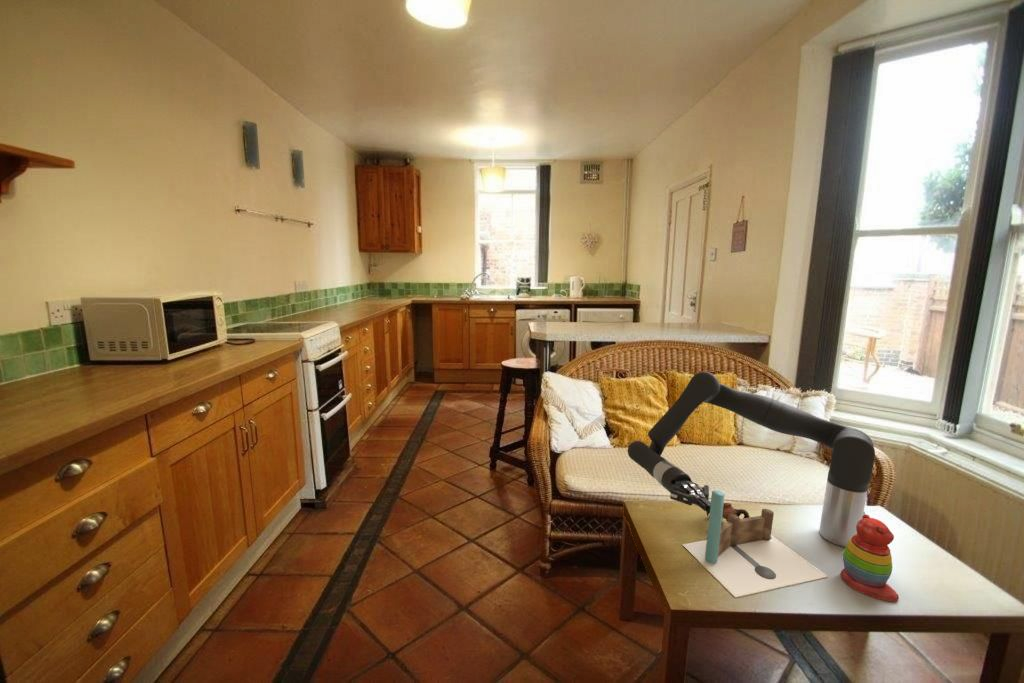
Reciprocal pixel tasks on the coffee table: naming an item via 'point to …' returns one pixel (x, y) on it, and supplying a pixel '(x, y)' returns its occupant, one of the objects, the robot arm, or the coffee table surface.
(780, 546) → the card
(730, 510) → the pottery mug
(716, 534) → the l-shaped post
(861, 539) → the stacking bear
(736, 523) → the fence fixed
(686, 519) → the coffee table surface
